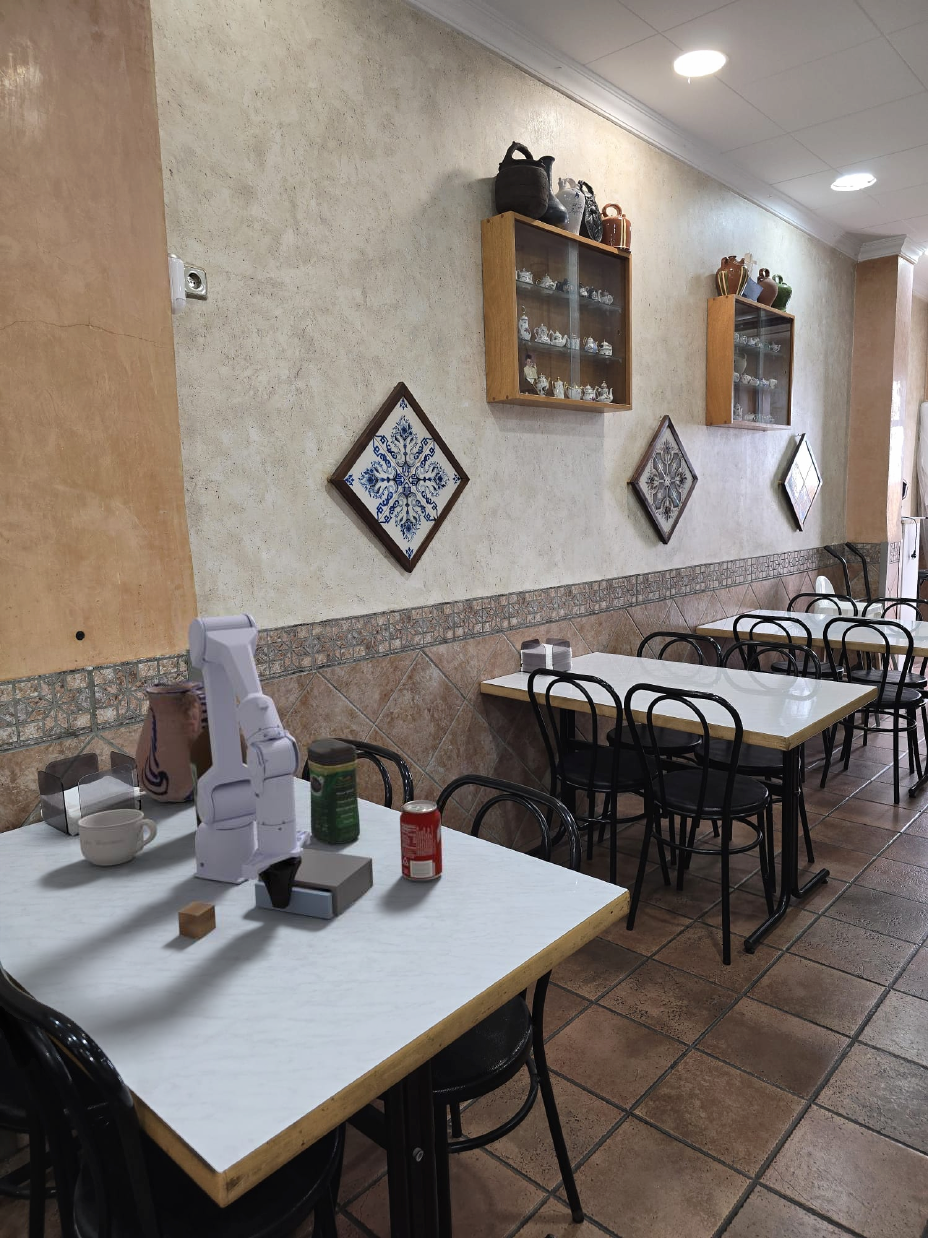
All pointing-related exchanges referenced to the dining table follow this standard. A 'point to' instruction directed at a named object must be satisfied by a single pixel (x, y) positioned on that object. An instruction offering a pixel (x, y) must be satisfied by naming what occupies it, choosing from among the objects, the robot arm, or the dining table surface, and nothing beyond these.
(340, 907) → the box
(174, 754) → the ceramic pitcher
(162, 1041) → the dining table surface
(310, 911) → the tray
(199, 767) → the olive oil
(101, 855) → the teacup
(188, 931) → the brown cube block
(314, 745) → the coffee jar
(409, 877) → the soda can
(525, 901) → the dining table surface
